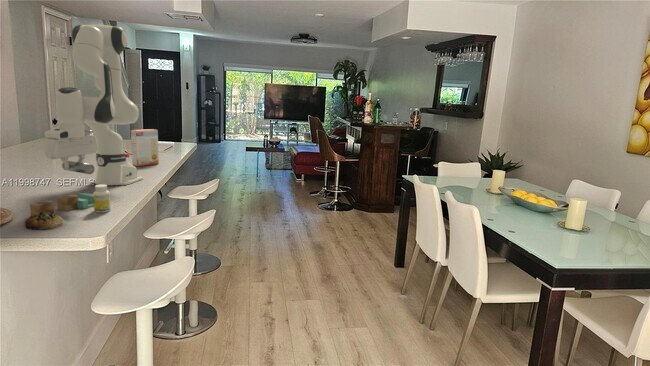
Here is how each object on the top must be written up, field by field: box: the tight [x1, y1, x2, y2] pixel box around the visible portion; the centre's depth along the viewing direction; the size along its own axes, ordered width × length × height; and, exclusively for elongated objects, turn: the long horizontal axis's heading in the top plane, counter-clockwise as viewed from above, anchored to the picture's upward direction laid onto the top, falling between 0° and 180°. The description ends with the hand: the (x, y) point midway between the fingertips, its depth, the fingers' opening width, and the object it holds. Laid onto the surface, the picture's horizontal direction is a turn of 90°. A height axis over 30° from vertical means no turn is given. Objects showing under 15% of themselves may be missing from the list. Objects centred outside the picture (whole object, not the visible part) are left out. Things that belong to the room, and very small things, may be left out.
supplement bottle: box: [92, 184, 111, 213], centre depth 158 cm, size 5×5×10 cm
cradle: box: [76, 192, 94, 210], centre depth 165 cm, size 10×10×3 cm
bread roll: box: [24, 212, 64, 230], centre depth 140 cm, size 11×11×5 cm
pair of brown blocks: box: [29, 194, 79, 216], centre depth 154 cm, size 16×4×4 cm, turn 162°
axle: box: [61, 160, 95, 175], centre depth 162 cm, size 4×12×4 cm, turn 71°
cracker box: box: [130, 128, 160, 167], centre depth 250 cm, size 14×6×21 cm, turn 144°
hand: (73, 167), depth 163 cm, fingers closed on axle, 4 cm apart
